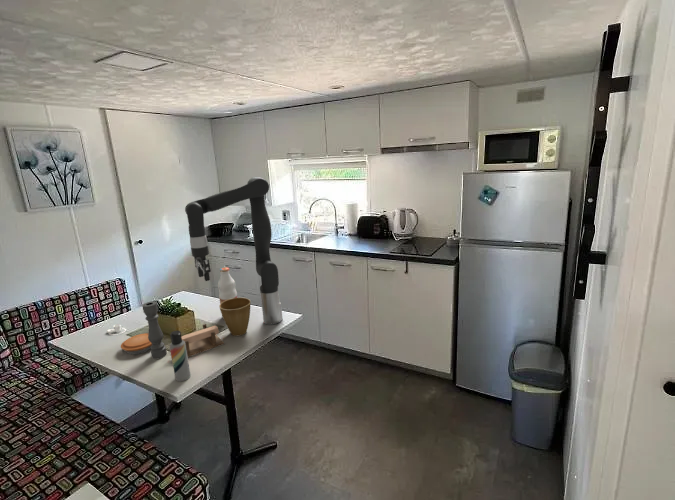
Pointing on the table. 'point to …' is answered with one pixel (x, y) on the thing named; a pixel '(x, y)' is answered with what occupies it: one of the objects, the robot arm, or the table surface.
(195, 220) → the robot arm
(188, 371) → the lotion bottle
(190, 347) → the rack
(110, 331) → the teacup and saucer
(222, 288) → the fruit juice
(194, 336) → the strip
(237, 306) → the plant pot
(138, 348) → the pie
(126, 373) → the table surface
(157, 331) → the candle holder
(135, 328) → the table surface
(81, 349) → the table surface
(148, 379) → the table surface
